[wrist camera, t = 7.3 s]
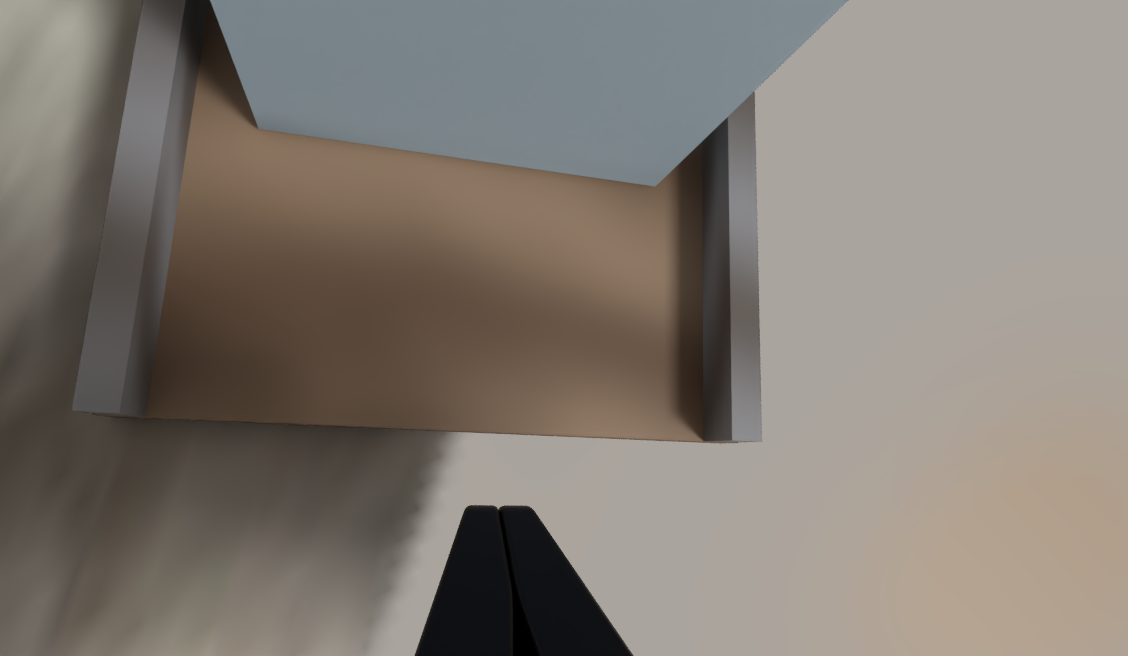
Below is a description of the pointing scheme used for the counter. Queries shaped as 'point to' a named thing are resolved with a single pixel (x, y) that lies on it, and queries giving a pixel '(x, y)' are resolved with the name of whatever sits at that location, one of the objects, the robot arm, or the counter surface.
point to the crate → (514, 74)
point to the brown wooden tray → (409, 275)
